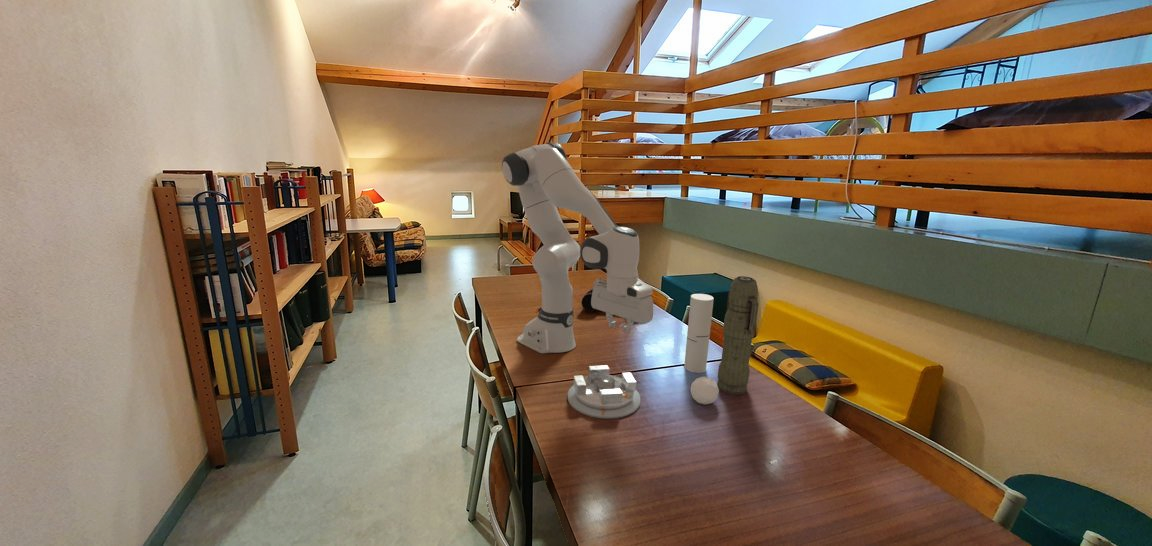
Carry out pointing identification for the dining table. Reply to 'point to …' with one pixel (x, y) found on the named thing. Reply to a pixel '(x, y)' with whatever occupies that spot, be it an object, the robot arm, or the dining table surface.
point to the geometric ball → (704, 390)
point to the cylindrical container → (698, 332)
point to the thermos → (738, 335)
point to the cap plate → (603, 413)
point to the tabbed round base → (604, 389)
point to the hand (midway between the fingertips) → (619, 329)
